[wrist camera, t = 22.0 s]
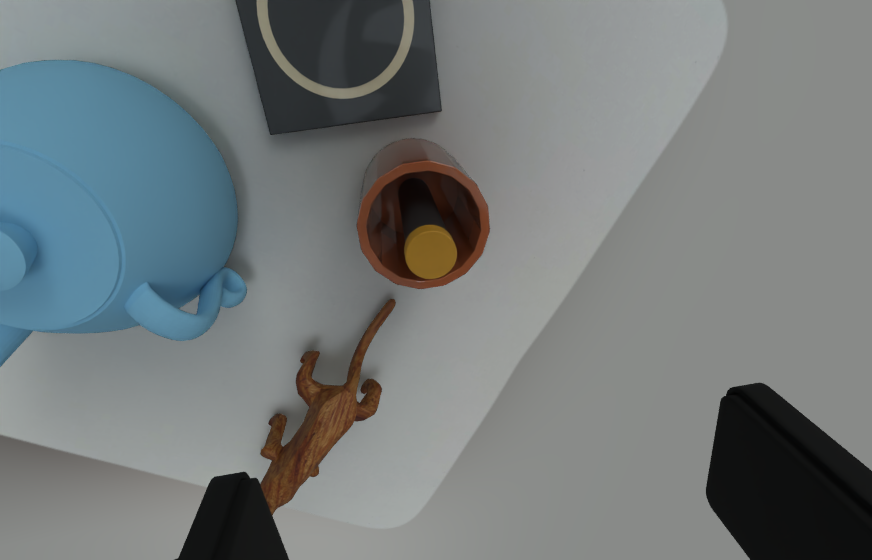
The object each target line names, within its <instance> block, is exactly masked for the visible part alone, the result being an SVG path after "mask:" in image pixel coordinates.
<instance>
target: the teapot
mask: <svg viewBox="0 0 872 560" xmlns="http://www.w3.org/2000/svg"><path fill="white" fill-rule="evenodd" d="M237 223H238V211H237V201H236V195H235V190H234V186H233V183H232V180H231V176H230V174H229V171H228V169H227V167H226V164H225V162H224V160H223V158H222V156H221V155H220V153H219V151H218V149H217V148H216V146H215V144H214V143H213V142H212V140H211V139H210V138H209V136H208V135H207V134H206V132H205V131H204V130H203V128H202V127H201V126H200V125H199V124H198V123H197V122H196V121H195V120H194V119H193V118H192V117H191V116H190V115H189V114H188V113H187V112H186V111H185V110H184V109H183V108H182V107H180V106H179V105H178V104H177V103H176V102H174V101H173V100H172V99H171V98H169V97H168V96H166V95H165V94H163V93H162V92H160V91H159V90H158V89H156V88H155V87H153V86H151V85H149V84H147V83H146V82H144V81H142V80H140V79H138V78H136V77H134V76H132V75H129V74H127V73H124V72H122V71H119V70H117V69H114V68H110V67H107V66H103V65H99V64H95V63H90V62H83V61H76V60H44V61H36V62H28V63H22V64H19V65H15V66H12V67H8V68H5V69H1V70H0V367H1V366H2V364H3V363H4V362H5V361H6V360H7V359H8V358H9V357H10V356H11V355H12V354H13V352H14V351H15V350H16V349H17V348H18V347H19V346H20V345H21V344H22V343H23V342H24V340H25V339H26V338H27V337H28V336H29V335H30V334H31V333H32V332H33V331H38V332H50V333H100V332H110V331H116V330H123V329H127V328H131V327H135V326H138V325H141V326H142V327H144V328H146V329H147V330H149V331H151V332H153V333H155V334H157V335H159V336H162V337H164V338H168V339H172V340H177V341H186V340H191V339H195V338H197V337H199V336H201V335H202V334H204V333H205V332H206V331H207V330H208V329H209V328H210V327H211V326H212V325H213V323H214V322H215V320H216V318H217V316H218V313H219V310H220V306H222V307H225V308H231V307H234V306H236V305H238V304H240V303H241V302H242V301H243V300H244V298H245V296H246V293H247V287H246V285H245V283H244V281H243V279H242V278H241V277H240V276H239V275H238V274H237V273H236V272H235V271H234V270H232V269H230V268H226V267H224V265H225V264H226V262H227V260H228V258H229V256H230V253H231V251H232V248H233V245H234V241H235V238H236V232H237ZM199 294H200V296H199V303H198V310H197V314H196V315H195V314H190V313H187V312H184V311H182V310H180V309H179V308H180V307H182V306H184V305H185V304H187V303H188V302H190V301H191V300H193V299H194V298H195V297H197V296H198V295H199Z"/></svg>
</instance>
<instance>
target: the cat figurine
mask: <svg viewBox="0 0 872 560" xmlns="http://www.w3.org/2000/svg"><path fill="white" fill-rule="evenodd" d="M395 303H396V302H395V300H394V299H390V300H389V301H388V302H387V303H386V304H385V305H384V306H383V308H382V309H381V310H380V312H379V313H378V314H377V316H376V317H375V318H374V320H373V321H372V322H371V324H370V325H369V327H368V328H367V330H366V331H365V333H364V335H363V337H362V338H361V340H360V342H359V344H358V346H357V348H356V350H355V353H354V355H353V358H352V361H351V364H350V367H349V371H348V376H347V382H346V383H345V384H344V385H343V386H338V385H323V384H321V383H318V382H316V381H315V380H314V379H312V373H313V370H314V367H315V364H316V361H317V359H318V357H319V354H320V352H319V351H314V350H312V351H307V352H305V354H304V355H303V356H302V358H301V360H300V362H301V363H303V365H302V366H301V368H300V370H299V371H298V373H297V377H296V386H297V391H298V394H299V395H300V396H301V397H302V399H303V400H304V401H305V402H306V404H307V405H308V406H309V410H308V412H307V414H306V417H305V419H304V422H303V423H302V425H301V426H300V428H299V429H298V431H297V432H296V434H295V435H294V437H293V438H292V440H291V441H290V442H289V443H287V444H286V445H285V446H282V445H281V440H282V436H283V433H284V430H285V426H286V422H287V418H286V416H285V415H283V414H276V415H274V416H273V417H272V418H271V419H270V421H269V423H268V424H269V425H270V426H271V429H270V432H269V435H268V437H267V440H266V443H265V446H264V448H263V449H261V453H260V454H261V455H262V456H263V457H265V458H267V459H270V460H272V462H271V464H270V467H269V469H268V471H267V473H266V475H265V476H264V478H263V480H262V482H261V484H260V485H261V488H262V491H263V493H264V496H265V498H266V501H267V504H268V506H269V509H270V511H271V514H272V515H273V513H274V512H275V510H276V509H277V508H278V507H280V506H282V505H284V504H286V503H288V502H289V501H290V500H291V499H292V498H293V497H294V495H295V493H296V492H297V490H298V488H299V487H300V486H301V485H302V484H303V483H304V482H305V481H306V480H307V479H308V478H309V476H311V477H315V476H317V475H318V474H319V467H318V465H319V464H320V462H321V461H322V460H323V458H324V457H325V456H326V455H327V453H328V452H329V451H330V450H331V448H332V447H333V446H334V445H335V444H336V443H337V441H338V440H339V439H340V438H341V437H342V436H343V435H344V434H345V433H346V432H347V431H348V429H349V428H350V427H351V426H352V424H353V422H354V421H363V420H365V419H367V418H369V417H371V416H372V415H374V414H375V412H376V411H377V408H378V404H379V399H380V395H381V392H382V388H381V386H380V384H379V383H378V382H376V381H375V380H374V379H367V380H366V381H365V382H364V384H363V385H362V387H361V390H360V391H361V392H362V393H363V394H365V393H366V395H365V396H364V398H363V399H362V400H361V402H360V403H359V402H357V399H356V393H357V387H358V383H359V379H360V372H361V366H362V362H363V359H364V355H365V353H366V350H367V348H368V346H369V344H370V343H371V341H372V339H373V337H374V336H375V334H376V332H377V331H378V329H379V328H380V326H381V325H382V324H383V322H384V321H385V319H386V318H387V317H388V315H389V314H390V313H391V311H392V310H393V308H394V306H395Z"/></svg>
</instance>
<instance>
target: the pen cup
mask: <svg viewBox="0 0 872 560" xmlns="http://www.w3.org/2000/svg"><path fill="white" fill-rule="evenodd" d="M410 178H418V179H421V180H423V181H424V182H425V183H426V184H427V185H428V187H429V189H430V192H431V194H432V196H433V199H434V201H435V204H436V206H437V208H438V211H439V213H440V215H441V218H442V220H443V223H444V225H445V227H446V230H447V231H448V233H449V234H450V235H451V237H452V239H453V241H454V243H455V246H456V249H457V258H456V262H455V264H454V266H453V268H452V269H451V270H450V271H449V272H448V273H447V274H445V275H444V276H442V277H439V278H436V279H425V278H421V277H419V276H417V275H415V274H414V273H413V272H412V271H411V270H410V269H409V267H408V266H407V263H406V260H405V253H404V246H405V239H404V232H403V225H402V218H401V212H400V205H399V198H398V190H399V187H400V185H401V184H402V183H403V182H404V181H405V180H407V179H410ZM357 231H358V236H359V241H360V246H361V250H362V252H363V254H364V255H365V257H366V258H367V259H368V261H369V262H370V264H371V265H372V267H373V268H374V270H375V271H376V272H378V273H380V274H381V275H383V276H384V277H386V278H387V279H389V280H390V281H392V282H393V283H395V284H397V285H402V286H407V287H412V288H417V289H425V288H431V287H438V286H444V285H446V284H448V283H450V282H452V281H453V280H455V279H457V278H459V277H461V276H462V275H464V274H466V273H467V272H468V271H469V269H470V268H471V267H472V266H473V265H474V263H475V262H476V261H477V260H478V259H479V257H480V256H481V255H482V253H483V250H484V247H485V244H486V241H487V238H488V235H489V232H490V225H489V213H488V205H487V203H486V201H485V199H484V197H483V196H482V194H481V192H480V190H479V188H478V186H477V184H476V183H475V182H474V181H473V180H472V178H471V177H470V176H469V175H468V174H467V173H466V171H465V170H464V169H463V168H462V167H461V166H460V164H459V163H458V162H457V161H456V160H455V158H454V157H453V156H451V155H450V154H449V153H448V152H447V151H446V150H445V149H443V148H442V147H440V146H439V145H437V144H435V143H433V142H431V141H428V140H424V139H416V138H410V139H403V140H399V141H396V142H393V143H391V144H389V145H387V146H386V147H384V148H383V149H382V150H380V151H379V152H378V153H377V154H376V155H375V157H374V158H373V159H372V161H371V162H370V164H369V166H368V168H367V169H366V172H365V176H364V181H363V186H362V191H361V198H360V205H359V212H358V218H357Z"/></svg>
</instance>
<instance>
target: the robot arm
mask: <svg viewBox="0 0 872 560" xmlns="http://www.w3.org/2000/svg"><path fill="white" fill-rule="evenodd" d="M706 496H707V499H708V502H709V504H710V506H711V508H712V509H713V511H714V512H715V513H716V514H717V516H718V517H719V519H720V520H721V521H722V523H723V524H724V525H725V527H726V528H727V529H728V530H729V532H730V533H731V535H732V536H733V537H734V539H735V540H736V541H737V542H738V544H739V545H740V546H741V548H742V549H743V550H744V552H745V553H746V554H747V556H748V557H749V558H750V560H872V471H871V470H870V469H869V468H867V467H866V466H865V465H864V464H863V463H861V462H860V461H859V460H858V459H857V458H855V457H854V456H853V455H852V454H850V453H849V452H848V451H847V450H846V449H844V448H843V447H842V446H841V445H839V444H838V443H837V442H836V441H835V440H833V439H832V438H831V437H830V436H828V435H827V434H826V433H825V432H824V431H822V430H821V429H820V428H819V427H817V426H816V425H815V424H814V423H812V422H811V421H810V420H809V419H808V418H806V417H805V416H804V415H803V414H802V413H800V412H799V411H798V410H797V409H795V408H794V407H793V406H792V405H791V404H789V403H788V402H787V401H786V400H785V399H783V398H782V397H781V396H780V395H778V394H777V393H776V392H775V391H773V390H772V389H771V388H770V387H768V386H767V385H765V384H763V383H754V384H749V385H744V386H737V387H732V388H730V389H729V390H728V391H727V394H726V396H724V397H723V398H722V399H721V402H720V407H719V414H718V419H717V426H716V431H715V437H714V444H713V450H712V456H711V462H710V468H709V474H708V480H707V487H706ZM175 560H289V559H288V556H287V553H286V550H285V548H284V545H283V543H282V540H281V537H280V535H279V532H278V530H277V527H276V525H275V522H274V519H273V517H272V514H271V511H270V509H269V506H268V504H267V501H266V498H265V496H264V493H263V491H262V488H261V485H260V483H259V481H258V479H257V478H251V479H250V477H249V476H248V474H247V473H246V472H240V473H234V474H228V475H223V476H217V477H214V478H213V479H211V481H210V483H209V485H208V487H207V490H206V492H205V495H204V497H203V500H202V502H201V504H200V507H199V509H198V512H197V514H196V517H195V519H194V521H193V524H192V526H191V529H190V531H189V534H188V536H187V539H186V541H185V543H184V546H183V548H182V551H181V553H180V556H179V558H178V559H175Z"/></svg>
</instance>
